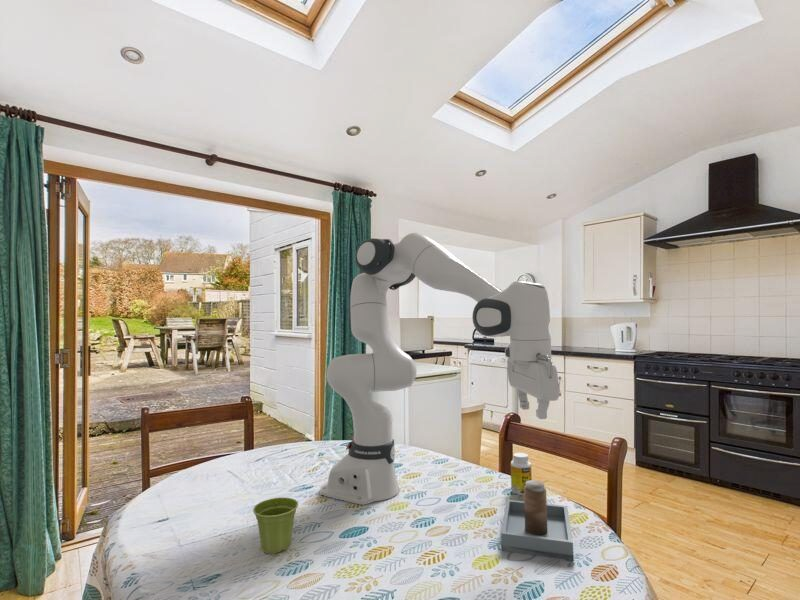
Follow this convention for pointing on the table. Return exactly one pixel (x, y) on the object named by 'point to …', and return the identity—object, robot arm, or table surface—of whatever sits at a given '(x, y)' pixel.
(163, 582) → the table surface
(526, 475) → the supplement bottle
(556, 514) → the tray
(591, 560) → the table surface
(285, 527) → the plant pot
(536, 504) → the shaker
